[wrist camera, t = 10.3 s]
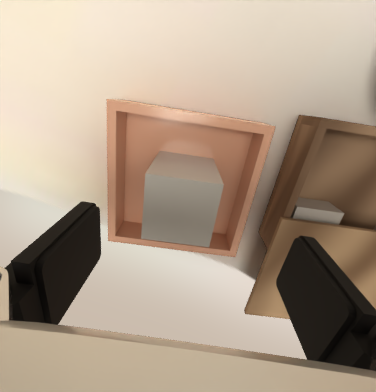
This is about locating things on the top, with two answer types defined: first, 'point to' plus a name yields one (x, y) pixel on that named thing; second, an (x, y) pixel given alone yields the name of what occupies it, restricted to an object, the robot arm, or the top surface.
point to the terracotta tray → (190, 145)
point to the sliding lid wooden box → (325, 191)
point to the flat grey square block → (316, 211)
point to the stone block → (181, 199)
